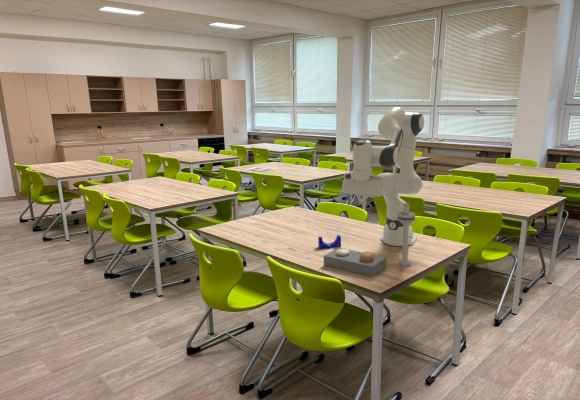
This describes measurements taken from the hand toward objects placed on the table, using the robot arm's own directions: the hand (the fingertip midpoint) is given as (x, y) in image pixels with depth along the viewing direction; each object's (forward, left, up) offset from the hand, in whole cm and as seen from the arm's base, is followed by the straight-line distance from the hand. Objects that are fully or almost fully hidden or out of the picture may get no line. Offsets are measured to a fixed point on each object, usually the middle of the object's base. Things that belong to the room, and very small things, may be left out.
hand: (362, 203), depth 196 cm
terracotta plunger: (+7, +6, -28) cm, 29 cm away
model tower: (-8, +18, -30) cm, 36 cm away
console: (+7, 0, -30) cm, 30 cm away
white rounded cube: (+7, -7, -29) cm, 31 cm away
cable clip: (-11, -26, -30) cm, 41 cm away
